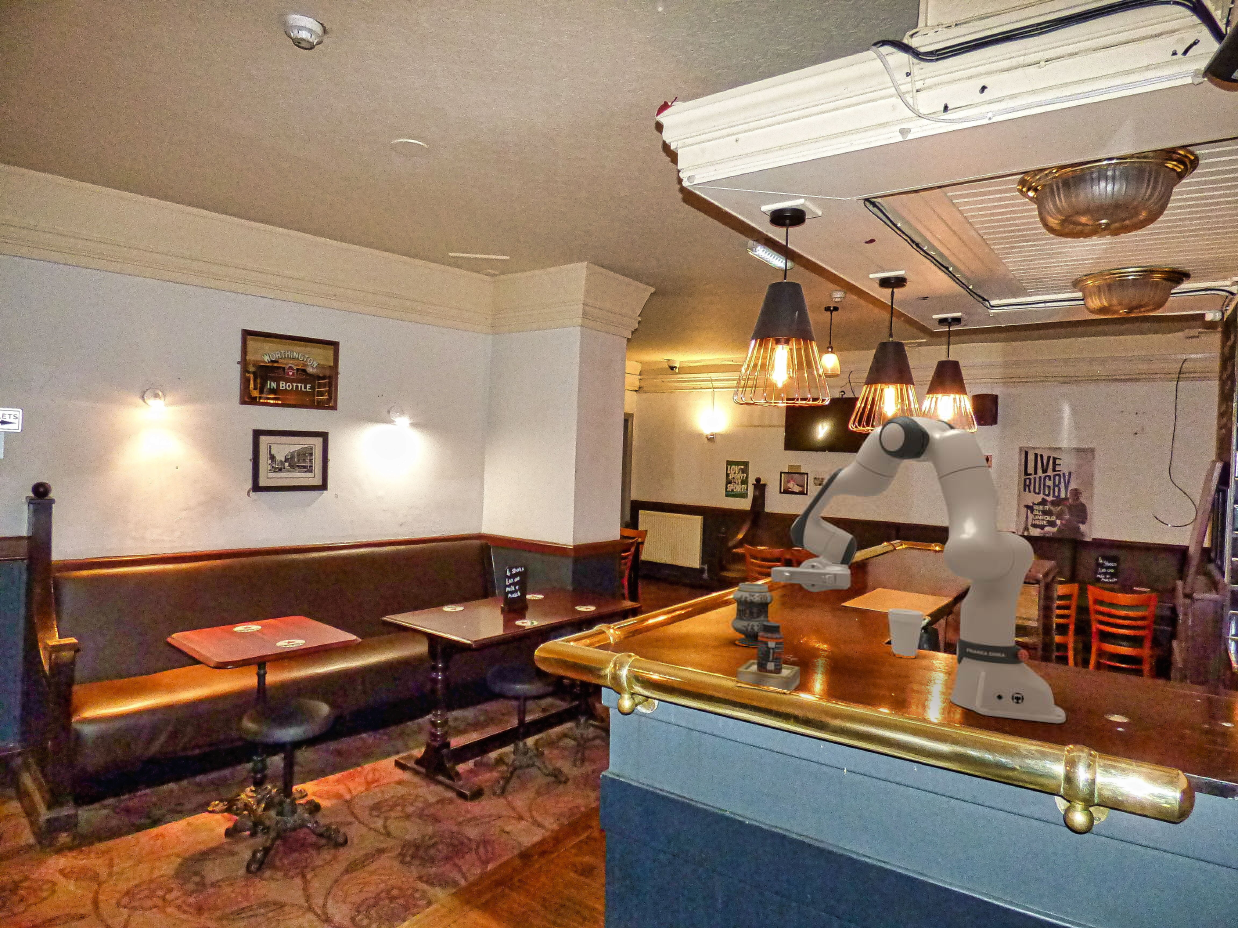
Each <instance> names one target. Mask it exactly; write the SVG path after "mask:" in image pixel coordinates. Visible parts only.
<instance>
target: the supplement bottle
mask: <svg viewBox="0 0 1238 928" xmlns="http://www.w3.org/2000/svg"><path fill="white" fill-rule="evenodd" d="M762 628H763V630H762V631H761V632H759V634H758V648H757V650H756V651H757V655H756V661H757V670H758V671H760V672H763V673H770V674H779V673H781V672H782V665H783V661H784V660H783V659H784V638H785V637H784V634H782V632H781V631H780V630H781V625H780V623H778V622H772V621H770V622H764V623H763V627H762Z"/></svg>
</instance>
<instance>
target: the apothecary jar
mask: <svg viewBox="0 0 1238 928" xmlns="http://www.w3.org/2000/svg"><path fill="white" fill-rule="evenodd" d="M768 587H769V586H768V585H767V584H763V583H753V582H751V583H750V582H740V583H739V584H738V588H737V590H735V591H734V593H733V594H732V597H733V601H735V602H736V614H735V615H736V616H735V618H733V620H732V621H731V627H732V629H733V630H734V632H736V633H738V634H740V635H742V636H744V637H741V638H739V639H737V640H738V642H739V643H741V644H745V645H748V646H758V634H759V632H761V631H762V630H763V628H762V627H763V623H764V622H771V620H769V608H770V607H769V605H770V604H772V602H773V600H774V598H773V595H772V594H771V592H769V589H768Z"/></svg>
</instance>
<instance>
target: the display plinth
mask: <svg viewBox="0 0 1238 928" xmlns="http://www.w3.org/2000/svg"><path fill="white" fill-rule="evenodd" d="M736 672H737V673H736V681H737V680H740V681H743V682H747V683H752V684H756V685H762V686H769V687H775V688H778V689H782V690H787V691H791V692H792V691H794V689H795V688H797V686H799V684H800V681H801V680H800V678H801V674H800V673H801V666H796V665H788V664H782V672H781V673H779V674H770V673H763V672H760V671H758V670H757V660H754V659H750V660H749V661H747V662H746V663H745V664H743V665H741V666H740V667H738V669H737V671H736Z"/></svg>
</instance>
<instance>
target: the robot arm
mask: <svg viewBox="0 0 1238 928" xmlns="http://www.w3.org/2000/svg"><path fill="white" fill-rule="evenodd" d="M905 460H906V461H913V462H917V463H925V462H926V463H930V462H931V464H932V465H933V466H934V469H935V472H936V473H935V474H936V476H937V479H938V482H939V483H938V484H939V486H940V490H941V493H942V495H943V498H944V500H943V501H944V502H945V505H946V511H947V518H948V540H947V542H946V543H945V545H944V548H943V560H944V563H945V565H946V567H947V569H948V570H949V571H950V572H951V573H953V574H954V575H956V576H958V577H961V578H964V579H967V580H971V584H970V587H969V590H968V591H967V594H966V596H965V598H964V599H963V600H962V602H961V605H960V620H959V621H960V624H959V628H960V629H959V637H958V638H957V643H956V662H957V670H956V676H955V681H954V684H953V689H952V693H951V694H950V697H949V700H950V701H951V702H952V703H953V704H955V705H957V706H960V707H963V708H965V709H969V710H971V711H974V712H976V713H978V714H980V715H983V716H990V717H991V716H992V717H997V718H999V717H1000V718H1008V719H1015V720H1016V719H1017V720H1025V721H1036V722H1041V723H1042V722H1044V723H1053V724H1062V723H1064V722H1065V721H1066V718H1067V717H1066V712H1065V711H1064V710H1063V709H1062V708H1061V707H1059V706H1058V705H1055V701H1054V700H1055V699H1054V695H1053V690H1052V689H1051V687H1050V685H1049V684H1048V682H1047V681H1046V680H1044V679H1043V678H1042V677H1041V676H1040V675H1039V674H1037V673H1036V672H1035V671H1034V670H1033V669H1032V668H1030V667H1029V666H1028V665H1027V664H1026V663H1025V661H1027V660H1029V657H1030V656H1029V653H1028V651H1027V650H1025V649H1024V648H1022V647H1021V646H1019V645H1017V644H1016V620H1017V618H1016V617H1017V608H1018V602H1019V599H1020V595H1021V593H1022V589H1023V584H1024V582H1025V581H1024V580H1025V578H1026V575H1027V573H1028V571H1029V570H1030V569H1031V568H1032V566H1033V563H1034V561H1035V560H1034V559H1035V554H1034V549H1033V547H1032V545H1031V543H1030V542H1029V541H1027V539H1025V538H1024V537H1022V536H1020V535H1019V534H1015V533H1013V532H1010V531H1004V530H1003V531H1002V530H998V525H997V507H998V505H999V502H1000V501H999V500H1000V498H999V494H998V492H997V489H996V486H995V483H994V479H993V477H992V475H991V471H990V468H989V465H988V462H987V460H986V458H985V455H984V452H983V451H982V449H981V447H980V445H979V442H978V441H977V440H976V438H975V437H974V435H973V433H971V431H969V430H966V429H962V428H957V427H955V426H954V425H952V424H951V423H950V422H946V421H945V420H942V419H941V420H940V419H932V418H928V417H924V416H906V415H900V416H895V417H893V418H890V419H888V420H886V421H885V422H884V423H883V425H879V426H877V427H876V428H874V429H872V431H871V432H870V433H869V435H868V436H867V438H866V439H865V441H863V443H862V445H861V446H860V448H859V450H858V452H857V453H856V455H855V458H854V460H853V461H852V462H851V463H850V465H848V466H847V467H845V468H838V469H837V470H836V471H834V472H833V473H832V474H831V475H830V476H829V477H828V479H827V480H826V482H825V483H824V484H823V485H822V486H821V487H820V490H818V492H817V493H816V495H815V496H814V497H813V499H812V500H811V501H810V503H809V504H808V506H807V507H806V508H805V510H804V511H803V512H802V514H801V515H799V517H797V518H796V519H795V521H794V522H793V523H792V526H791V528H790V532H789V534H790V537H791V541H792V542H793V545H795V546H797V547H800V548H801V549H804V550H807V551H809V552H810V553H812V554H814V555H816V556H817V557H813V558H809V559H806V560H805V561H803V562H802V563H801V564H800V565H799V567H792V566H791V567H790V566H788V567H787V566H777V567H772V568H771V571H770V579H771V581H772V582H773V583H774V582H775V583H787V584H800V585H801V587H803V588H804V589H805V590H807V591H809V592H813V593H818V592H821V591H824V592H825V591H828V590H847V589H848V588H850V587H851V569H849V567H850V566H851V564H852V562H853V561H854V560H855V557H856V554H857V551H858V546H857V545H858V544H857V540H856V538H855V536H854V535H852V534H850V533H849V532H847V531H846V530H844V529H841V528H838V526H835V525H833V524H832V523H830V522H828V521H826V520H825V519H824V520H823V518H822V517H821V514H822V513H823V511H824V510H825V509H826V507H827V506H828V504H829V503H830V502H831V501H832V499H833V498H834V497H835V496H839V495H848V496H855V497H859V498H860V497H861V498H862V497H863V498H869V497H875V496H879V495H882V494H883V493H884V492H886V491H887V489H888V488H889V487H890V485H891V484H892V482H893V480H895V479H894V478H895V477H896V475H897V473H898V471H899V469H900V467H901V465H902V464H903V462H904V461H905Z"/></svg>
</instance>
